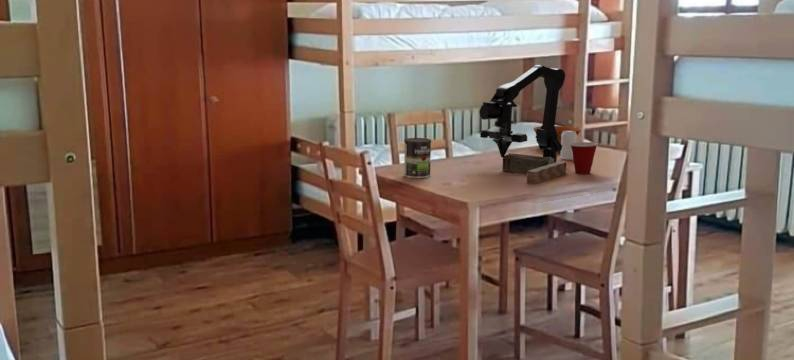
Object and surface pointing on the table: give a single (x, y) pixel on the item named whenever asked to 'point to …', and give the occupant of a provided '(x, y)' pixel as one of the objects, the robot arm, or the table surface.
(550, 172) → the batten
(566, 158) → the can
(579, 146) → the plastic cup
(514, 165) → the beverage carton
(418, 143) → the coffee can
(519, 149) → the table surface
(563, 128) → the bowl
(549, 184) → the table surface
